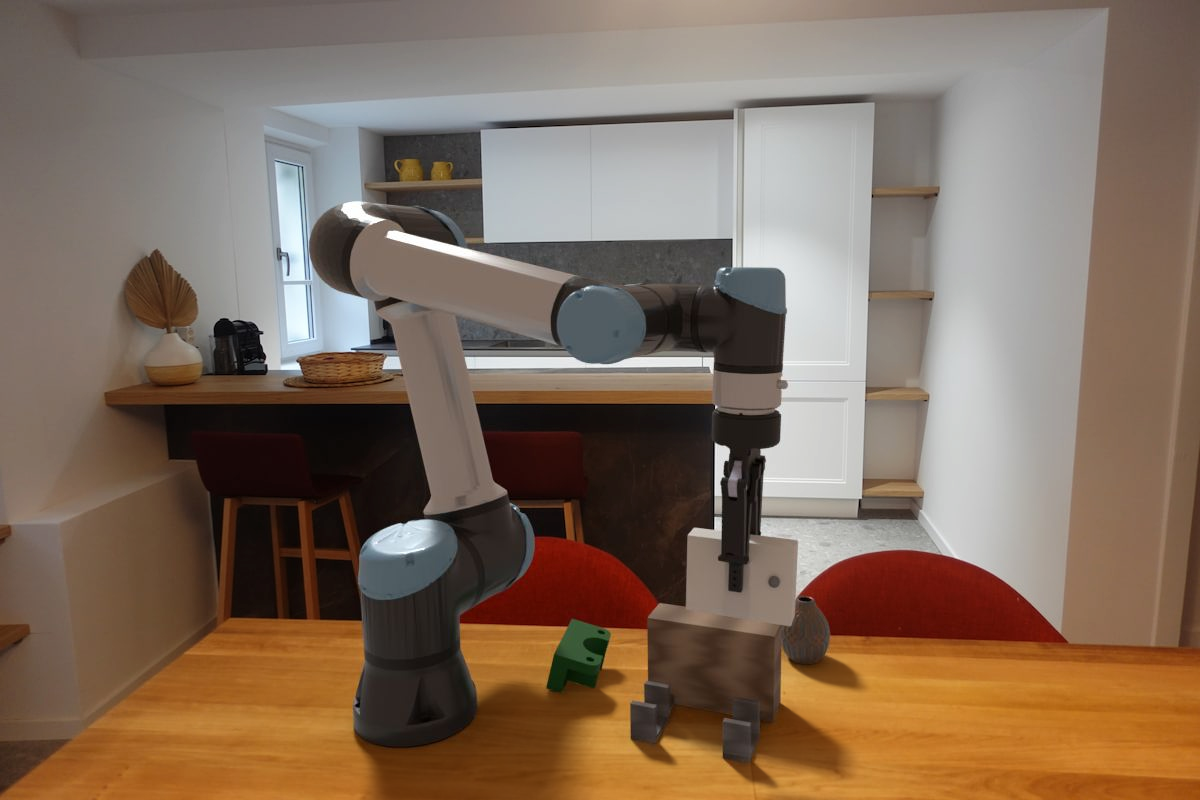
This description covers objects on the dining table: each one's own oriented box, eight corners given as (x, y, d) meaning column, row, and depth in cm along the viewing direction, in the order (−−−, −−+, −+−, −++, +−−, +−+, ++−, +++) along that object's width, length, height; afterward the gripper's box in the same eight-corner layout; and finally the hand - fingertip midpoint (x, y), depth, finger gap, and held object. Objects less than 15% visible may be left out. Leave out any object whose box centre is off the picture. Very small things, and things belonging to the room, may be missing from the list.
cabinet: (622, 736, 96) (621, 648, 94) (660, 681, 109) (659, 603, 107) (758, 765, 90) (759, 671, 88) (780, 702, 103) (781, 620, 101)
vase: (770, 651, 117) (771, 593, 116) (812, 644, 119) (813, 587, 118) (795, 672, 110) (796, 611, 109) (839, 665, 112) (840, 604, 111)
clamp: (585, 721, 107) (595, 678, 102) (543, 708, 108) (549, 664, 103) (607, 652, 117) (616, 609, 112) (568, 640, 118) (575, 597, 113)
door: (684, 611, 93) (686, 536, 92) (692, 600, 97) (694, 527, 95) (790, 628, 89) (793, 550, 88) (794, 615, 92) (798, 540, 91)
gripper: (768, 423, 81) (759, 644, 84) (791, 399, 95) (783, 589, 99) (695, 418, 83) (689, 632, 87) (728, 395, 98) (722, 580, 102)
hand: (739, 609), depth 93 cm, fingers closed on door, 3 cm apart
